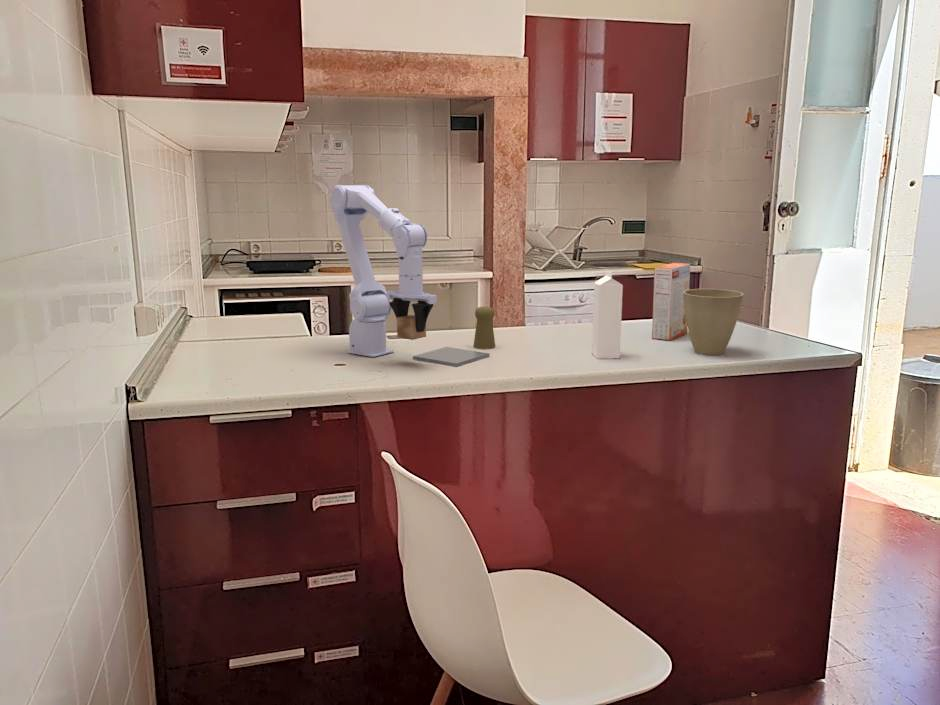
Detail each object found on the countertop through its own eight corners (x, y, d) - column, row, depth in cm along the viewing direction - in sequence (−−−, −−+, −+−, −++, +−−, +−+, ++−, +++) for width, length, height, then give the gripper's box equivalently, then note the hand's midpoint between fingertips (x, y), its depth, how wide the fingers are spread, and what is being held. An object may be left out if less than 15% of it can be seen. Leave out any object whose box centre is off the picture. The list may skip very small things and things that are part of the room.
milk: (614, 353, 198) (618, 269, 193) (619, 358, 192) (624, 272, 187) (591, 353, 198) (594, 269, 193) (596, 359, 192) (599, 272, 187)
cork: (493, 349, 203) (493, 309, 200) (471, 348, 204) (471, 308, 202) (497, 345, 208) (497, 305, 206) (476, 344, 210) (476, 304, 208)
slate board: (412, 359, 192) (412, 356, 192) (446, 349, 203) (446, 346, 203) (456, 366, 184) (456, 363, 183) (489, 356, 195) (489, 353, 194)
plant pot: (669, 348, 204) (672, 289, 201) (718, 345, 208) (722, 287, 204) (698, 360, 190) (702, 297, 187) (750, 357, 194) (755, 295, 190)
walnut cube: (397, 337, 185) (396, 317, 184) (410, 334, 188) (410, 314, 187) (412, 339, 182) (412, 319, 181) (426, 336, 186) (425, 316, 184)
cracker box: (668, 331, 228) (672, 262, 223) (687, 333, 224) (692, 263, 220) (649, 338, 217) (653, 266, 212) (670, 341, 213) (674, 267, 209)
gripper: (377, 274, 183) (378, 329, 186) (422, 278, 174) (423, 336, 177) (397, 271, 189) (398, 325, 191) (442, 275, 180) (442, 331, 183)
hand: (411, 330), depth 185 cm, fingers closed on walnut cube, 5 cm apart
